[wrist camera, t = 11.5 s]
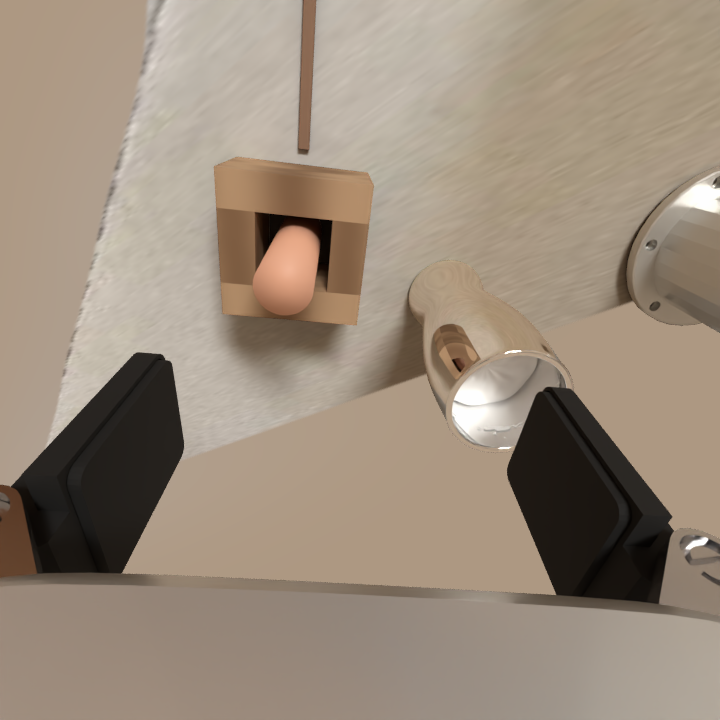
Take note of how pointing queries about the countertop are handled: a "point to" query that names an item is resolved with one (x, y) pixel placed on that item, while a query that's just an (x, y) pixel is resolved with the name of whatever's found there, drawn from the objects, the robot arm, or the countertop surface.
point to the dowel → (289, 267)
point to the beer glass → (480, 356)
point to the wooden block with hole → (302, 199)
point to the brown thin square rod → (306, 72)
